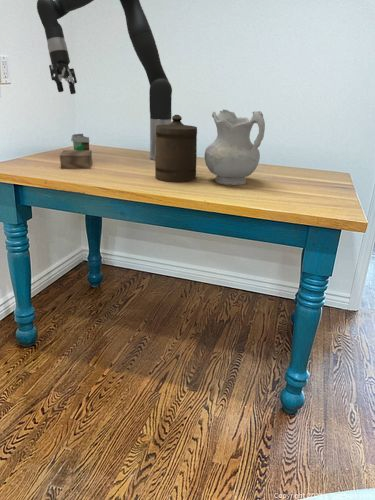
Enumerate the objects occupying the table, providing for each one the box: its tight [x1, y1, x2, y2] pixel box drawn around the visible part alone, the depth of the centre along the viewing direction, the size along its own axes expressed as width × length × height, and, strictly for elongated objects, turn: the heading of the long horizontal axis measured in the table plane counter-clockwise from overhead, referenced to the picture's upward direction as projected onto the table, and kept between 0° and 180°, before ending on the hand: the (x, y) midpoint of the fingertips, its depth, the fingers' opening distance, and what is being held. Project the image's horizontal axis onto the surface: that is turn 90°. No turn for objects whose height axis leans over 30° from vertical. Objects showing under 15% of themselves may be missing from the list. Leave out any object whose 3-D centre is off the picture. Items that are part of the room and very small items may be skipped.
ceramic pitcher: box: [204, 109, 266, 186], centre depth 144 cm, size 22×20×25 cm
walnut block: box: [59, 149, 93, 170], centre depth 165 cm, size 11×12×5 cm
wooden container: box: [154, 114, 198, 183], centre depth 148 cm, size 15×15×22 cm
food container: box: [71, 133, 90, 150], centre depth 177 cm, size 12×6×10 cm, turn 25°
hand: (67, 92), depth 174 cm, fingers open, 8 cm apart
